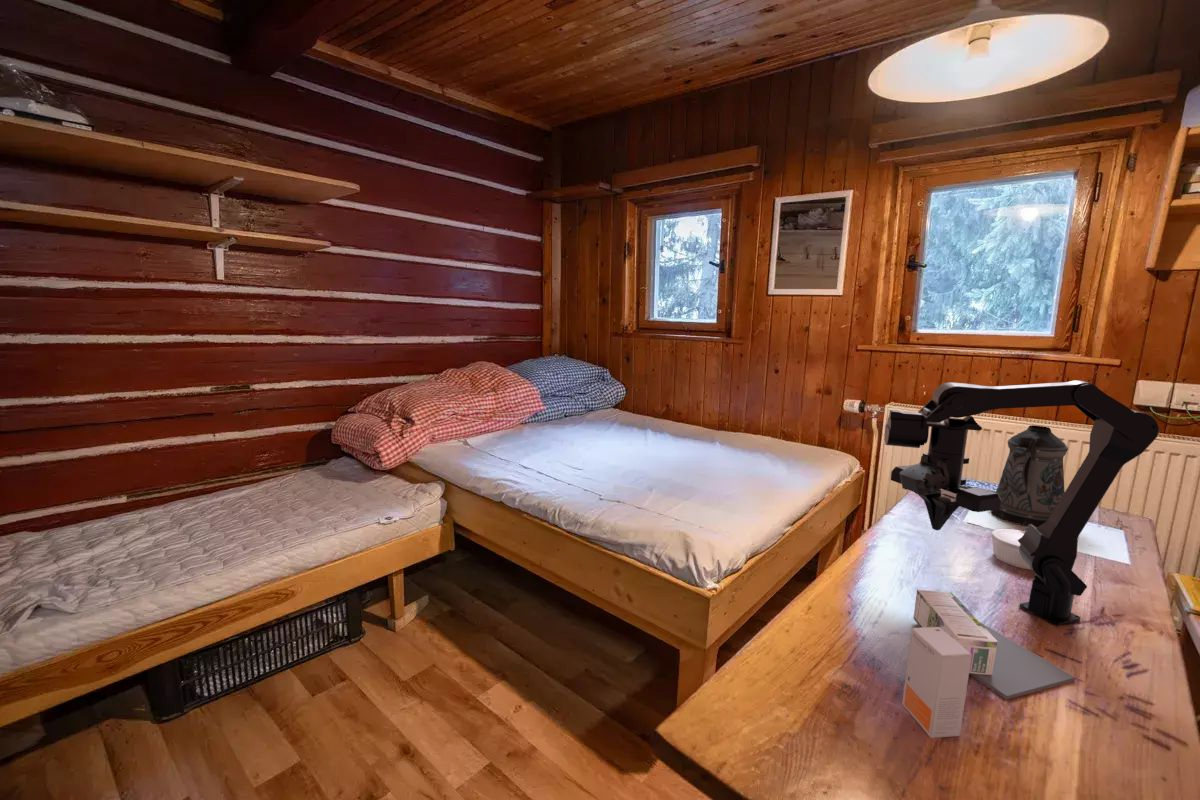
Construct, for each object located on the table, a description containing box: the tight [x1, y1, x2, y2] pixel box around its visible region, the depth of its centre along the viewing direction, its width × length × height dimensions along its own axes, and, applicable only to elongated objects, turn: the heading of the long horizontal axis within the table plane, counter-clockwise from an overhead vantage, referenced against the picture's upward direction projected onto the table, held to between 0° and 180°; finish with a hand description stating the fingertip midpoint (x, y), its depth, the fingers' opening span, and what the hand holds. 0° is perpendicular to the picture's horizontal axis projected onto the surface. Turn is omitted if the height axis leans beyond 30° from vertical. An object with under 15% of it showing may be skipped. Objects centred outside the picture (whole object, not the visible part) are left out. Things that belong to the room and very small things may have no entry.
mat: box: [969, 621, 1076, 701], centre depth 85 cm, size 14×16×1 cm
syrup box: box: [913, 589, 998, 675], centre depth 87 cm, size 6×6×14 cm
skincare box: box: [901, 627, 972, 739], centre depth 71 cm, size 6×4×12 cm
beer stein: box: [991, 424, 1069, 527], centre depth 141 cm, size 16×19×25 cm
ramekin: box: [991, 528, 1032, 571], centre depth 118 cm, size 11×11×5 cm
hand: (936, 529), depth 102 cm, fingers closed
